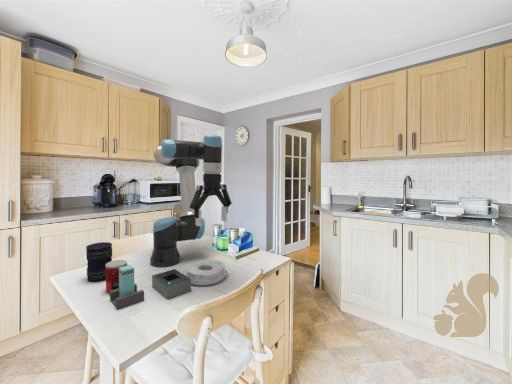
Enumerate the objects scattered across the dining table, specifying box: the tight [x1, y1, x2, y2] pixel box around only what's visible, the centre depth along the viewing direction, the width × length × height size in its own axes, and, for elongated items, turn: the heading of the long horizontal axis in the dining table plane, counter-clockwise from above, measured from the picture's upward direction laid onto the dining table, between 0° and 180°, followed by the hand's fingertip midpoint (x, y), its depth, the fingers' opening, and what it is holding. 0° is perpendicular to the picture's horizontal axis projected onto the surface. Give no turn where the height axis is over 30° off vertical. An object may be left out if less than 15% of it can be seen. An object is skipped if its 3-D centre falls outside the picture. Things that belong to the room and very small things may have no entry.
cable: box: [186, 259, 229, 286], centre depth 111 cm, size 18×18×6 cm
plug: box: [119, 264, 135, 297], centre depth 90 cm, size 4×4×12 cm
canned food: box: [105, 259, 128, 294], centre depth 99 cm, size 8×8×11 cm
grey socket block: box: [151, 268, 192, 300], centre depth 100 cm, size 14×10×6 cm
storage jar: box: [85, 241, 113, 283], centre depth 109 cm, size 10×10×15 cm
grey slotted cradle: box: [109, 283, 145, 311], centre depth 90 cm, size 9×9×4 cm
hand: (211, 223), depth 103 cm, fingers open, 13 cm apart
